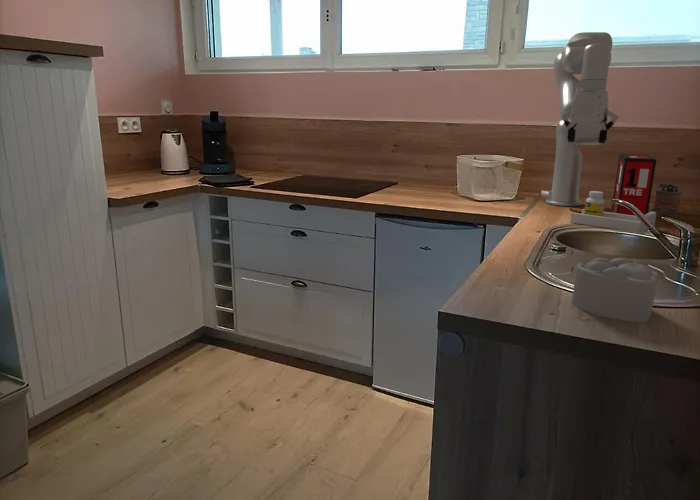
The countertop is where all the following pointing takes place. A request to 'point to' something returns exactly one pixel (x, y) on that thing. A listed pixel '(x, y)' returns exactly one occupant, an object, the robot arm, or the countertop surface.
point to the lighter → (667, 199)
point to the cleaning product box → (634, 182)
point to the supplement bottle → (595, 204)
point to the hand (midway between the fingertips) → (586, 142)
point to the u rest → (614, 221)
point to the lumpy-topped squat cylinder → (615, 289)
